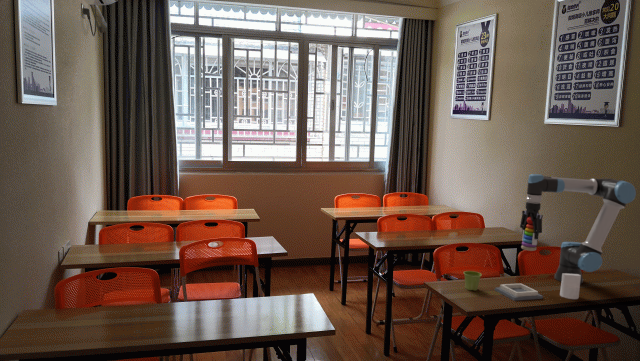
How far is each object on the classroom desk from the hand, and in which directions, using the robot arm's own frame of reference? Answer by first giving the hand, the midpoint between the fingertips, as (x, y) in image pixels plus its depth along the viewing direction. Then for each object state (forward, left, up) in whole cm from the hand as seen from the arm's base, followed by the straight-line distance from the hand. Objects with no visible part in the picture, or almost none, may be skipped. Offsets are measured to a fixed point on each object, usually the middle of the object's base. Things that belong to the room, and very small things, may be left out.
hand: (529, 242), depth 284 cm
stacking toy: (0, 0, -4) cm, 4 cm away
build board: (+13, +11, -25) cm, 30 cm away
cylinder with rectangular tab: (-14, +18, -25) cm, 34 cm away
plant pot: (+34, -1, -25) cm, 42 cm away
